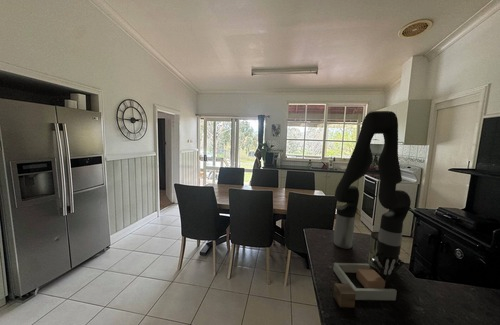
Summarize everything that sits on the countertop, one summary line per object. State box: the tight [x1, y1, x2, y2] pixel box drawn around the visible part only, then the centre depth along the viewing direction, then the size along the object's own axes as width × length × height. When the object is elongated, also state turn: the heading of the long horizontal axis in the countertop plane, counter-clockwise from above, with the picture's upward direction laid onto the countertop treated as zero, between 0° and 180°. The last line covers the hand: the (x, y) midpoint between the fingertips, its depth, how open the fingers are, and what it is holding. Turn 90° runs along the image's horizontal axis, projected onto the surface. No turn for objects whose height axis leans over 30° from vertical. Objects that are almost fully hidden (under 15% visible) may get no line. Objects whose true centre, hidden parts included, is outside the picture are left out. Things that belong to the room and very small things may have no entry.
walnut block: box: [332, 282, 356, 308], centre depth 71 cm, size 5×5×5 cm
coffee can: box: [367, 231, 395, 269], centre depth 94 cm, size 10×10×14 cm
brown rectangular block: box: [356, 269, 386, 289], centre depth 81 cm, size 7×7×4 cm
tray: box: [332, 262, 398, 301], centre depth 80 cm, size 16×15×4 cm
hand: (384, 281), depth 81 cm, fingers closed
